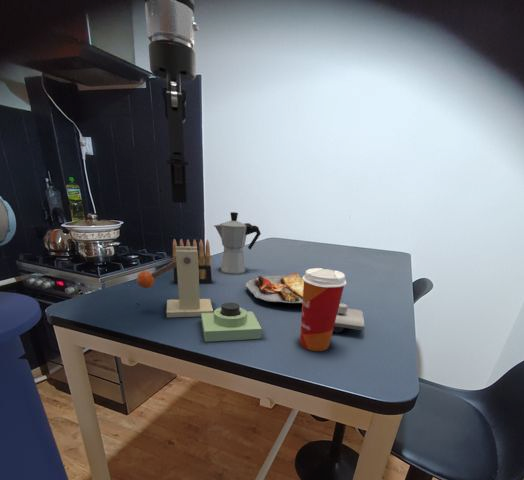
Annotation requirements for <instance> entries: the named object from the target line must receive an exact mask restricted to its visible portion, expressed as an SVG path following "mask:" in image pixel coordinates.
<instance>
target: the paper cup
mask: <svg viewBox="0 0 524 480" xmlns="http://www.w3.org/2000/svg"><path fill="white" fill-rule="evenodd" d="M302 277H303V278H302V279H303V281H304V287H303V302H302V303H301V304H302V305H301V319H300V335H299V336H300V337H299V342H300V343H299V344H300V345H301V347H302V348H304V349H305V350H308V351H312V352H322V351H326V350H327V349H328V348H329V347H330V343H331V340H332V337H333V333H334V331H333V328H334V324H335V320H336V316H337V312H338V308H339V304H340V303H341V300H342V297H343V296H342V295H343V291H344V288H345V286H346V285H347V280H346V274H345V273H344V272H341V271H340V270H332V269H329V268H325V269H324V268H323V267H314V268H308V269H306V270H305V273H304V275H303V276H302Z"/></svg>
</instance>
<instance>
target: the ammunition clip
mask: <svg viewBox="0 0 524 480" xmlns="http://www.w3.org/2000/svg"><path fill="white" fill-rule="evenodd" d="M198 243H199V244H198V245H197V241H196V239H193V241H192V247H197V248H198V271H199V284H212V283H213V278H212V277H213V276H212V256H211V248H210V247H211V246H210V242H209V239H206V241H205V247H204V242H203V240H202V239H199V242H198ZM184 245H185V244H184V241H183V239H182V238H181V239H180V240H179V246H184ZM176 246H178V244H177V241H176V238H174V239H173V240H172V262H173V261H175V260H176ZM185 246H191V242H190V239H186V245H185ZM204 248H205V250H204ZM173 284H177V285H178V277H177V266H176V267H174V268H173Z"/></svg>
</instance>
